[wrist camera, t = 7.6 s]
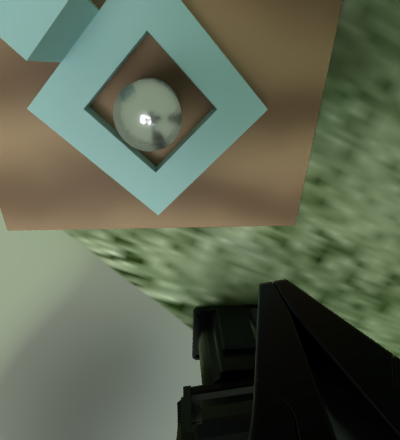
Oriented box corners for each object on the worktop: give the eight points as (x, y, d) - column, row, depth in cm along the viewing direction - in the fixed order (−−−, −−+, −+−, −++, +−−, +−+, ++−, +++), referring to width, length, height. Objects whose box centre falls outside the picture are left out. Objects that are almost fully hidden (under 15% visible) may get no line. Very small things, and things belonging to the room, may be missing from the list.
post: (179, 133, 17) (181, 151, 14) (128, 132, 17) (116, 151, 13) (179, 77, 16) (182, 81, 12) (123, 76, 16) (109, 78, 12)
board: (289, 217, 22) (295, 225, 21) (16, 221, 20) (7, 230, 19) (354, -114, 14) (370, -129, 13) (-100, -160, 12) (-126, -182, 11)
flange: (261, 106, 17) (294, 120, 13) (158, 207, 19) (155, 248, 15) (36, -174, 11) (-50, -328, 7) (-70, 18, 14) (-184, -6, 9)
